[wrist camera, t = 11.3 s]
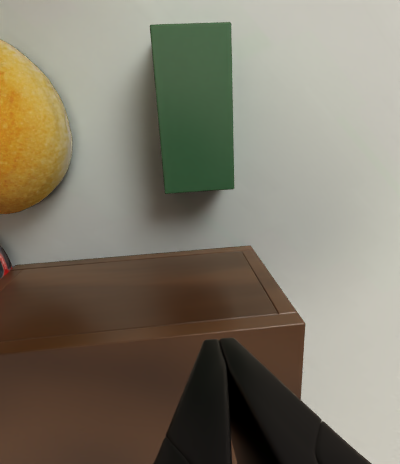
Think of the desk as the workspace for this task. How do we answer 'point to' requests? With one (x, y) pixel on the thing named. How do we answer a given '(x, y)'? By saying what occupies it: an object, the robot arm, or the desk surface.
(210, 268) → the cabinet
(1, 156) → the bread roll
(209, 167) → the dark green foam brick
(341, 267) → the desk surface
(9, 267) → the race car
